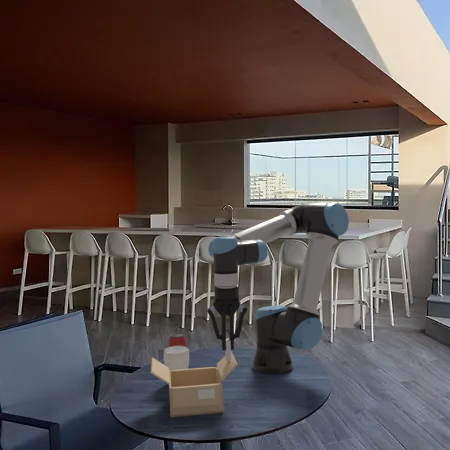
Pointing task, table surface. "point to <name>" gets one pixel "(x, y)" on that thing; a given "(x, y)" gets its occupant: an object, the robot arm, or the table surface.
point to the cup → (176, 357)
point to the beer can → (177, 340)
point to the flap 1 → (160, 371)
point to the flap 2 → (226, 366)
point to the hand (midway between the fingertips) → (228, 359)
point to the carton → (195, 392)
